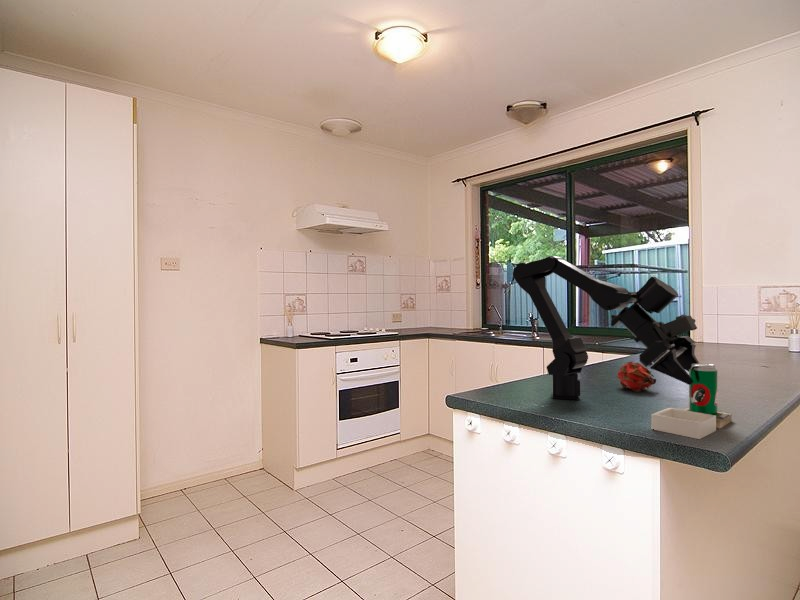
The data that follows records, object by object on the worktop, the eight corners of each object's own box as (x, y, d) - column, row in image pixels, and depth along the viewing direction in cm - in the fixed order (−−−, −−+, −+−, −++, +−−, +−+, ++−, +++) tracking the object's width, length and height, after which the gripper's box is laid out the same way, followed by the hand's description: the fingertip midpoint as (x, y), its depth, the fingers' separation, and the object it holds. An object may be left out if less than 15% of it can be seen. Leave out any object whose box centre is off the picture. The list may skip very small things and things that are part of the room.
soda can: (722, 424, 96) (722, 366, 96) (695, 423, 97) (695, 366, 97) (710, 418, 101) (710, 363, 101) (685, 417, 102) (685, 362, 102)
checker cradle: (675, 420, 99) (675, 412, 99) (688, 413, 104) (688, 405, 104) (720, 428, 93) (720, 419, 93) (731, 421, 98) (731, 412, 98)
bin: (651, 429, 93) (651, 414, 93) (669, 421, 98) (669, 407, 98) (699, 439, 86) (699, 423, 86) (716, 430, 92) (716, 415, 92)
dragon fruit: (624, 390, 138) (650, 405, 127) (603, 374, 137) (628, 388, 125) (641, 367, 138) (669, 380, 126) (621, 351, 136) (647, 363, 124)
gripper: (654, 303, 97) (716, 360, 89) (684, 302, 109) (742, 352, 101) (616, 338, 103) (672, 395, 95) (649, 333, 115) (701, 383, 107)
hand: (698, 380), depth 99 cm, fingers open, 9 cm apart
